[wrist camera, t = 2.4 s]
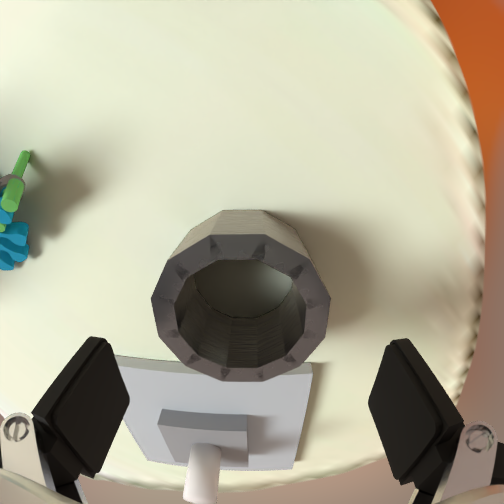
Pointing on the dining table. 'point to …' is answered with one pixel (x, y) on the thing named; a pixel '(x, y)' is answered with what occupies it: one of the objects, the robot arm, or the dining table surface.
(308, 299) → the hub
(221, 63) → the dining table surface
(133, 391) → the shaft stand
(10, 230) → the gear
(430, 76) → the dining table surface
